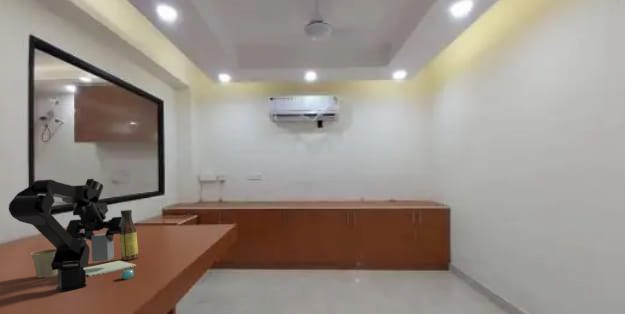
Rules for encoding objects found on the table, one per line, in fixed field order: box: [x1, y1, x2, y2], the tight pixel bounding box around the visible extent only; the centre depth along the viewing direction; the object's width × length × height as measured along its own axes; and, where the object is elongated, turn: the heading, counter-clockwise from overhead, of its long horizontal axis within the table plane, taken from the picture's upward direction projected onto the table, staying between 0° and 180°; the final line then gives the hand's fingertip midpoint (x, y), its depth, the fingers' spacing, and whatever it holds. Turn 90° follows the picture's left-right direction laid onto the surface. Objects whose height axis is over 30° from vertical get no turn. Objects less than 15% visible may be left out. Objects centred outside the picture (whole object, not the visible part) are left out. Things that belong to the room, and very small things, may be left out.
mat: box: [83, 260, 137, 277], centre depth 150 cm, size 16×14×1 cm
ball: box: [120, 268, 134, 280], centre depth 134 cm, size 4×4×2 cm
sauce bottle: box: [119, 209, 139, 261], centre depth 166 cm, size 7×6×20 cm
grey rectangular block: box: [91, 232, 115, 262], centre depth 148 cm, size 5×5×9 cm
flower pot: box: [29, 248, 58, 279], centre depth 144 cm, size 9×9×9 cm
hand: (104, 240), depth 150 cm, fingers closed on grey rectangular block, 5 cm apart
